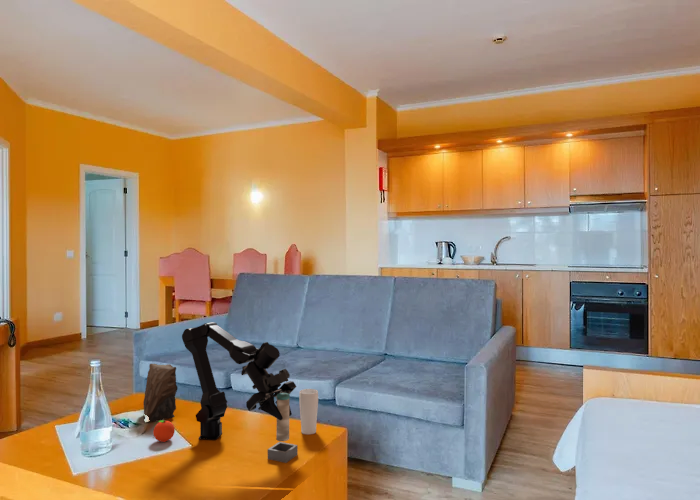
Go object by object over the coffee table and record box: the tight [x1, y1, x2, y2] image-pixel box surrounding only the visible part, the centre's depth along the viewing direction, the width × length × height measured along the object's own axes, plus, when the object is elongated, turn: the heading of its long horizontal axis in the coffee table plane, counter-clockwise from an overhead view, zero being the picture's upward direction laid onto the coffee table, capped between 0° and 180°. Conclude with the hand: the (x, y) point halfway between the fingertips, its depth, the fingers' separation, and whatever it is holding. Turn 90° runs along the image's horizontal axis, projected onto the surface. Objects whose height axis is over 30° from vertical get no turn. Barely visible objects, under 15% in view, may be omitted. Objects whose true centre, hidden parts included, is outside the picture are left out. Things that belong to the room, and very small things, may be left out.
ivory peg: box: [275, 393, 291, 442], centre depth 161 cm, size 4×4×14 cm
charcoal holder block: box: [267, 441, 299, 464], centre depth 161 cm, size 7×7×4 cm
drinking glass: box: [298, 388, 319, 435], centre depth 182 cm, size 7×7×15 cm
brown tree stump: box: [143, 363, 178, 422], centre depth 200 cm, size 13×13×20 cm
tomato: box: [153, 419, 176, 443], centre depth 175 cm, size 8×7×7 cm
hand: (286, 417), depth 160 cm, fingers closed on ivory peg, 4 cm apart
